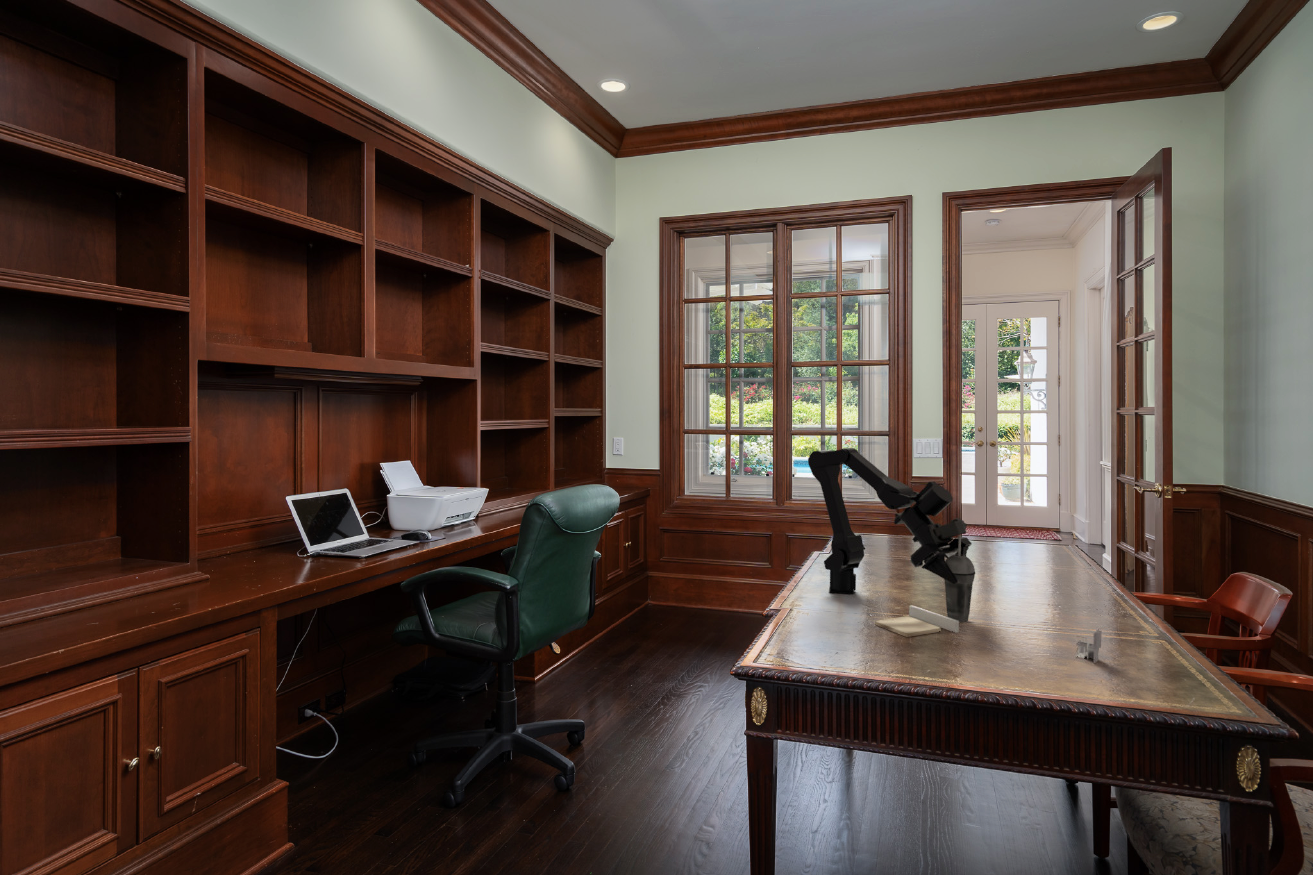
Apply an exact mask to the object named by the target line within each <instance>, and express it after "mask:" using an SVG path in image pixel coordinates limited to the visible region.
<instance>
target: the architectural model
mask: <svg viewBox="0 0 1313 875" xmlns="http://www.w3.org/2000/svg"><path fill="white" fill-rule="evenodd" d="M1080 638H1081V639H1080ZM1084 639H1085V641H1084ZM1075 641H1076V646H1077V649H1076V650H1075V658H1077V656H1078V658H1080V659H1084V658H1087V660H1089V659H1093V664H1094V663H1095V664H1096V663H1097V662H1098V661H1099V655H1100V654H1099V653H1100V652H1099V651H1100V649H1101V648H1102V630H1100V628H1097V629H1096V630H1095V631H1093V641H1092V643H1090V641H1089V637H1084V636H1080V635H1077V638H1076V640H1075Z"/></svg>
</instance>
